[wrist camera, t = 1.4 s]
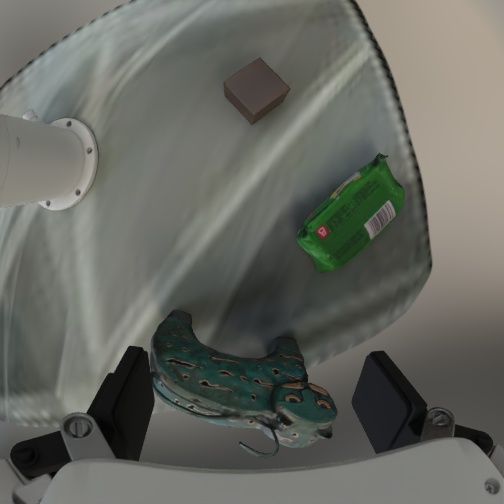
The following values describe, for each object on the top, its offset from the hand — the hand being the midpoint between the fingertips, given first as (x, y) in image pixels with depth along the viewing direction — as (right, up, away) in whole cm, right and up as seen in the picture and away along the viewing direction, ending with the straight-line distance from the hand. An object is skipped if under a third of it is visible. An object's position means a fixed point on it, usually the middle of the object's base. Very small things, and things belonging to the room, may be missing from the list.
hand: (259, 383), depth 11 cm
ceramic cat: (-3, -6, +27) cm, 28 cm away
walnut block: (0, +24, +20) cm, 31 cm away
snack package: (+12, +11, +24) cm, 28 cm away
